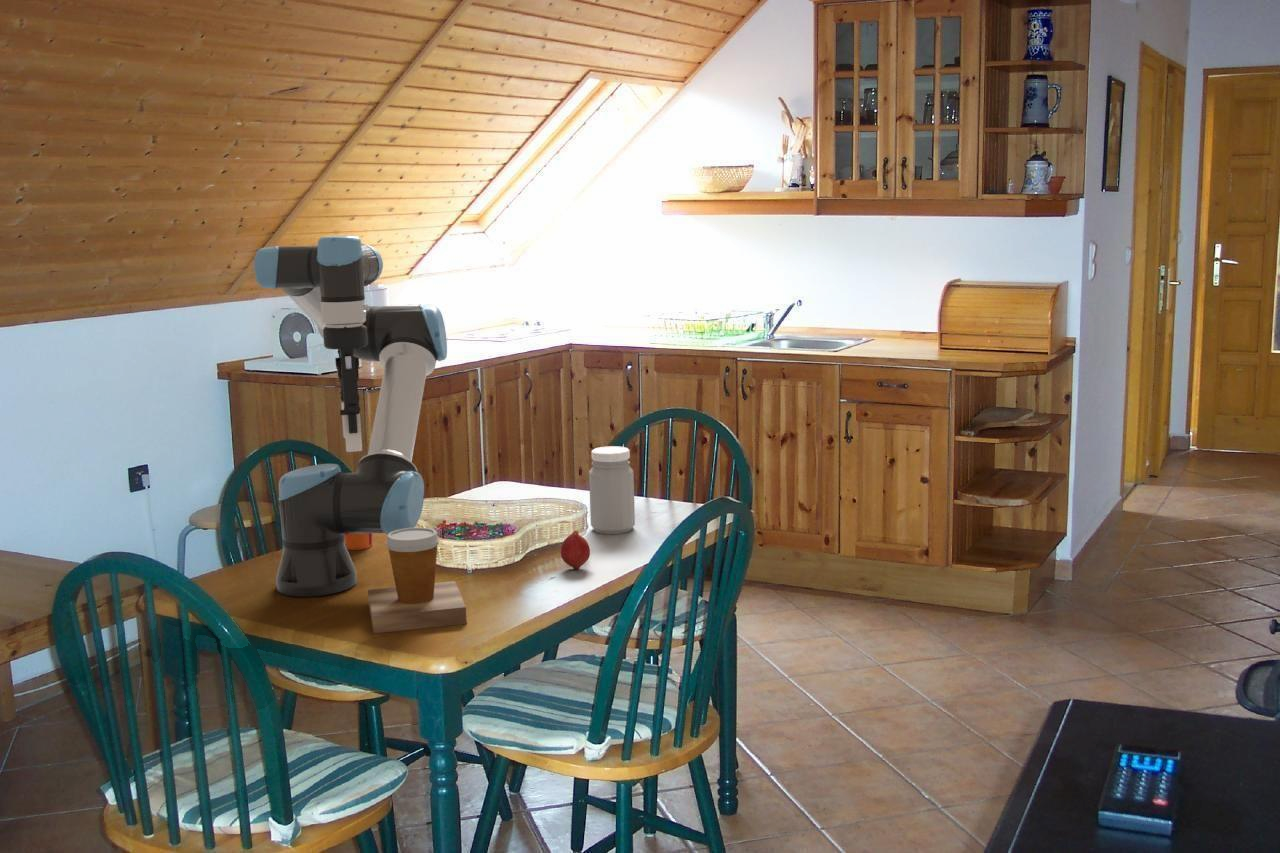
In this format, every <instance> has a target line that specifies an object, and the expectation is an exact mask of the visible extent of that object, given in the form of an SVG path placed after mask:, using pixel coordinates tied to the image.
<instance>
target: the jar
mask: <svg viewBox="0 0 1280 853" xmlns="http://www.w3.org/2000/svg"><path fill="white" fill-rule="evenodd" d="M630 452H631V451H630V449H629V448H628V447H625V446H619V445H617V446H614V445H609V446H608V445H607V446H601V447H595V448H594V449H592V450H591V453H590V454H591V460H592V462H591V465H592V467H591V468H590V470H589V471H588V479H589V480H588V483H589V484H588V485H589V486H588V487H589V509H590V511H589V512H590V513H589V514H590V527H592V529H593V530H594V531H595V532H596V533H598V532H599V533H598V534H603V535H619V534H620V535H621V534H624V533H629V532H630V531H631V530H633V528H634V526H635V525H636V517H635V514H636V513H635V510H636V509H635V480H634V479H635V478H634V475H635V474H634V469H633V468H632V467H631V466H630V465H631V462H630V461H629V459H631V453H630Z"/></svg>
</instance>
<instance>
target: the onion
mask: <svg viewBox="0 0 1280 853" xmlns="http://www.w3.org/2000/svg"><path fill="white" fill-rule="evenodd" d="M560 547H561V548H560V556H561V558H562V560H563V562H564V563H566V565H568V566H570V568H573V569H574V570H578V569H580V568H581V567H582V566H583V565H584V564H585V563H587V561H588V560H589V558H590V555H591V554H590V553H591V548H590V545H589V542H588V540H587V539H586V538H584V537H583V536H582V535H580V534H579V530H578V529H575V530H573V531H572V533H570V535H568V536H567V537H565V539H564V540H563V541H562V543H561V546H560Z"/></svg>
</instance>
